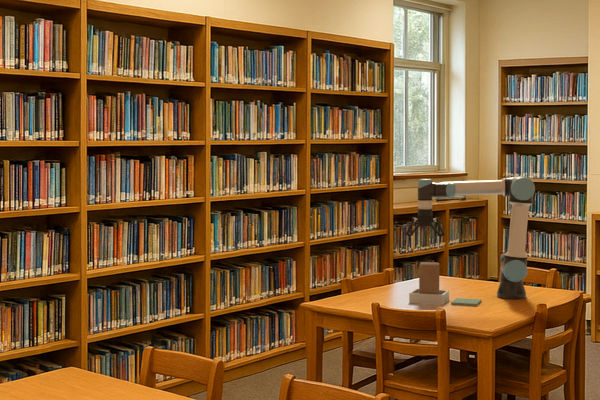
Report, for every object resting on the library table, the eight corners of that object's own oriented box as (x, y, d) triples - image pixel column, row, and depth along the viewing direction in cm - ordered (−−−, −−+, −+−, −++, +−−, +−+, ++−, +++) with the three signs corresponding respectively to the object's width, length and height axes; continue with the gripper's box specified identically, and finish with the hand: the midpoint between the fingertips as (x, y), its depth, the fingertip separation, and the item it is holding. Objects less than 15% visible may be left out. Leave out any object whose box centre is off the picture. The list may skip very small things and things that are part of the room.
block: (438, 303, 426) (438, 264, 425) (419, 302, 428) (419, 264, 427) (439, 299, 436) (439, 262, 435) (420, 299, 438) (420, 261, 437)
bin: (449, 299, 436) (449, 290, 435) (443, 304, 422) (443, 295, 422) (416, 297, 442) (416, 288, 442) (409, 302, 429) (409, 293, 428)
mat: (481, 301, 429) (481, 299, 429) (476, 306, 417) (476, 303, 417) (456, 300, 434) (456, 298, 434) (451, 304, 422) (451, 302, 422)
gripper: (449, 208, 436) (449, 248, 437) (401, 207, 440) (401, 247, 442) (449, 209, 428) (449, 249, 430) (400, 208, 433) (400, 249, 434)
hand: (425, 248), depth 436 cm, fingers open, 13 cm apart
